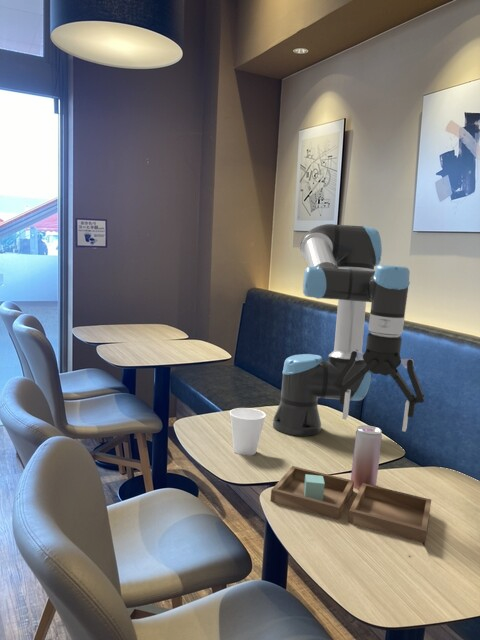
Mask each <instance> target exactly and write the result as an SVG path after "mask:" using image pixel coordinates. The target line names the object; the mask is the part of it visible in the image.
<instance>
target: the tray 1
mask: <svg viewBox="0 0 480 640" xmlns="http://www.w3.org/2000/svg"><path fill="white" fill-rule="evenodd" d="M305 474H308V475H318V476H323V479H324V483H325V485H324V495H323V501H320V500H316V499H312V498H309V497H305V496H304V483H305ZM353 493H354V481H353V480H351V479H348V478H344V477H339V476H336V475H331V474H328V473H323V472H319V471H314V470H312V469H307V468H303V467H298V466H294V465H292V466H291V467H290V468H289V469H288V470H287V472H285V474H284V475H283V476H282V478H280V480H279V481H278V482H277V483H276V484H275V485H274V486H273V488H271V491H270V502H272V503H273V502H274V503H276V504H280V505H284V506H288V507H291V508H295V509H298V510H302V511H305V512H306V511H307V512H309V513H314V514H317V515H321V516H325V517H328V518H331V519H335V520H340V517H341V515H342V513H343V511H344V509H345V508H346V505H347V504H348V502H349V499H350V498H351V495H353Z"/></svg>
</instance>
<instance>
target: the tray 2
mask: <svg viewBox="0 0 480 640" xmlns="http://www.w3.org/2000/svg"><path fill="white" fill-rule="evenodd" d="M431 504H432V499H430V498H426V497H424V496H417V495H416V494H415V495H414V494H409V493H406V492H403V491H402V492H401V491H397V490H395V489H393V490H392V489H389V488H385V487H381V486H377V485H376V486H373V485H369V484H365V483H363V484H362V486H361V488H360V490H358V492H357V494H356V496H355V498H354V500H353V502H352V504H351V506H350V508H349V510H348V519H347V522H348V523H350V524H353V525H357V526H361V527H364V528H368V529H372V530H376V531H378V532H383V533H387V534H390V535H394V536H398V537H401V538H405V539H408V540H412V541H415V542H419V543H421V544H422V545H423V546H425V543H426V538H427V532H428V525H429V519H430V512H431V507H432V505H431Z"/></svg>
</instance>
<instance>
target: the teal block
mask: <svg viewBox="0 0 480 640" xmlns="http://www.w3.org/2000/svg"><path fill="white" fill-rule="evenodd" d="M324 485H325V483H324V479H323V476H318V475H308V474H305V483H304V496H305V497H309V498H312V499H316V500H320V501H323V495H324Z"/></svg>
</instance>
